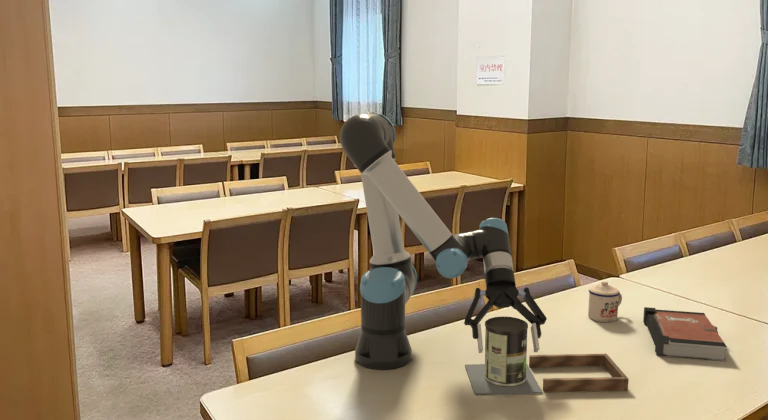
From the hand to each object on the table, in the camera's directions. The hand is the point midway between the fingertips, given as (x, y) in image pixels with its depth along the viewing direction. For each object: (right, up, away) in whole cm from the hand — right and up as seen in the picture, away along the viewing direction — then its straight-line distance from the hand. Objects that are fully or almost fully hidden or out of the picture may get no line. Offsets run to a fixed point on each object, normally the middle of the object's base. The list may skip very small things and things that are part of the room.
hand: (508, 350), depth 157 cm
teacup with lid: (+39, +1, +45) cm, 60 cm away
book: (+54, -3, +27) cm, 60 cm away
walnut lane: (+17, -7, +4) cm, 19 cm away
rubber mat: (-1, -8, +3) cm, 8 cm away
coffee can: (0, -7, +3) cm, 8 cm away
